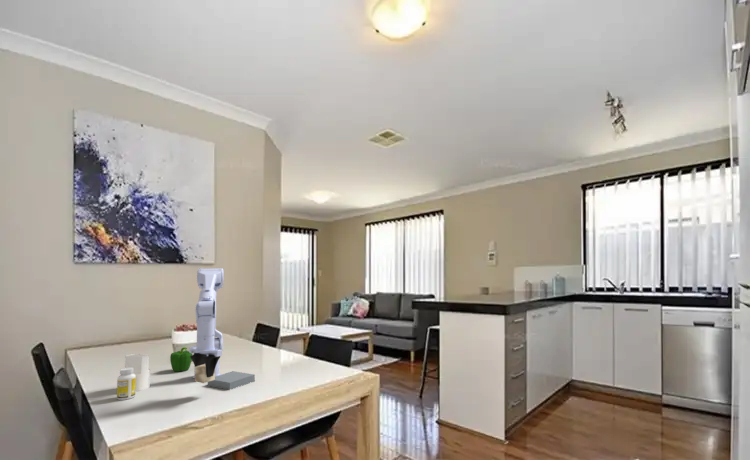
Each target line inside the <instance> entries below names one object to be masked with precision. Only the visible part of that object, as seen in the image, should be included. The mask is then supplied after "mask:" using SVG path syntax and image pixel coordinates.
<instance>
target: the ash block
mask: <svg viewBox="0 0 750 460" xmlns="http://www.w3.org/2000/svg"><path fill="white" fill-rule="evenodd" d="M194 369H195V378H194V382H196V383H200V384H205V383H208V382H209V381H212V380H215V370H214V374H213V376H211V377H207V375H206V365H205V364H203V365H200V366H196V367H195V366H194Z"/></svg>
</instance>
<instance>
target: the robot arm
mask: <svg viewBox="0 0 750 460" xmlns="http://www.w3.org/2000/svg"><path fill="white" fill-rule="evenodd" d="M224 272H225V270H224V269H223V268H222V267H220V268H217V267H216V268H201V267H200V268H197V271H196V281H197V282H196V283H197V287H198V288H199V289H200V291H199V295H198V302H196V303H195V319H196V321H195V323H196V346H190V347H189V351H190V352H189V353H192V355H191V356H190V358H191V359H192V361H191V362H192V363H193V365H194V375H193V376H192V378H193V379H195V367H196V366H200V365H203V364H205V365H206V375H207V377H211V376H213V374H214V370H215V376H219V375H222V374H223V373H220V358H221V357H222V356H223V351H224V337H223V333H222V332H221V331H219V330H218V329H217V294H218V291H219V290H220V289H222V288H223V286H224V281H225V280H224V276H225V275H224V274H225V273H224Z"/></svg>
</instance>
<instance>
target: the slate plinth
mask: <svg viewBox="0 0 750 460" xmlns="http://www.w3.org/2000/svg"><path fill="white" fill-rule="evenodd" d="M221 374H222V375H219V376H215V380H212V381H209V382H207V387H213V388H218V389H222V388H223V390H228V389H231V390H234V389H236V387H237V388H239V387H242V386H245V385H248V384H251V383H253V382H255V381H256V380H255V376H256V375H255V374H254V373H248V372H247V373H246V372H242V371H241V372H240V371H234V370H232V371H229V372H226V373H221ZM250 382H251V383H250ZM244 384H245V385H244ZM241 385H242V386H241ZM238 386H239V387H238ZM233 388H234V389H233Z"/></svg>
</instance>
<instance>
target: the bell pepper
mask: <svg viewBox="0 0 750 460" xmlns="http://www.w3.org/2000/svg"><path fill="white" fill-rule="evenodd" d="M187 349H188V347H186V346H184V347H181V349H180V350H178V351H175V352H172V353H171V354H170V359H169V360H170V365H171V369H172V371H174V372H185V371H188V370H189V369H190V367H191V364H192V362H193V361H192V359H191V358H190V356H191V355H193V353H189V352H190V350H187Z"/></svg>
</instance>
